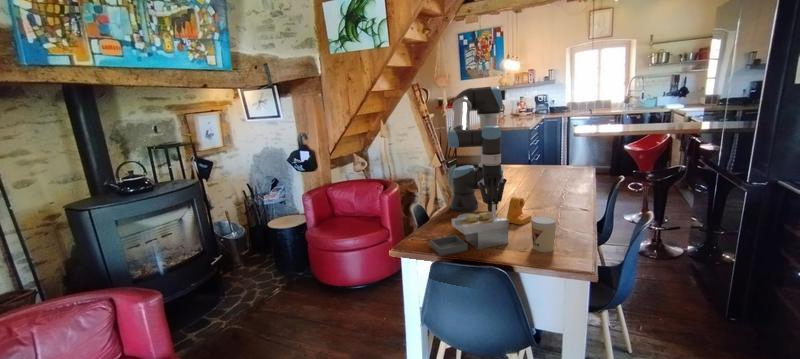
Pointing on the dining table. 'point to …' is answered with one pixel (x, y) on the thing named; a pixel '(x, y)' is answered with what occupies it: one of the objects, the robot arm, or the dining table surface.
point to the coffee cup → (543, 233)
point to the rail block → (483, 231)
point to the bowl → (465, 215)
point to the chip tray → (448, 245)
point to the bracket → (517, 211)
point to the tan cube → (484, 216)
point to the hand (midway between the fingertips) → (492, 218)
